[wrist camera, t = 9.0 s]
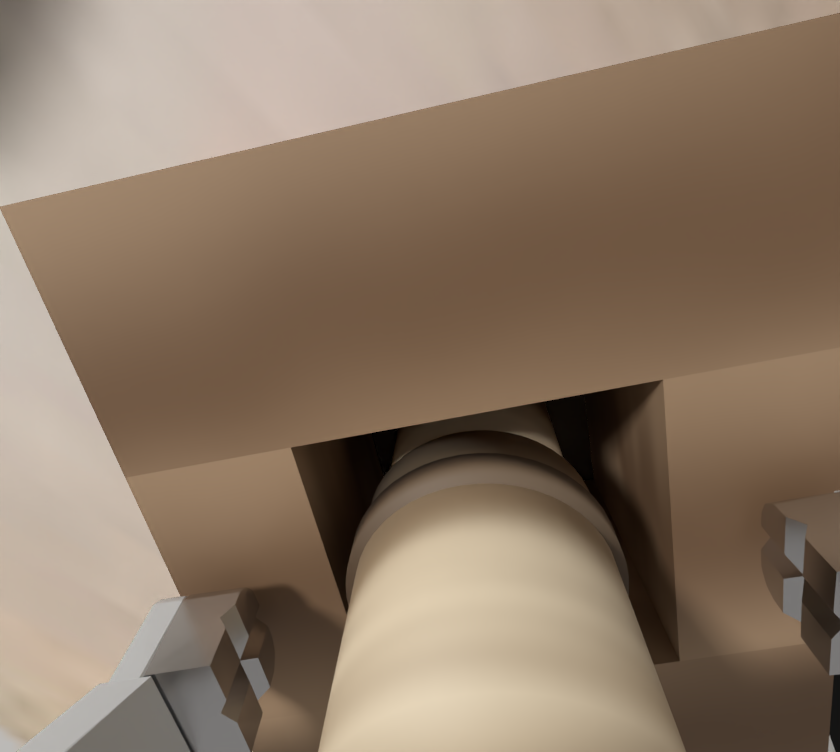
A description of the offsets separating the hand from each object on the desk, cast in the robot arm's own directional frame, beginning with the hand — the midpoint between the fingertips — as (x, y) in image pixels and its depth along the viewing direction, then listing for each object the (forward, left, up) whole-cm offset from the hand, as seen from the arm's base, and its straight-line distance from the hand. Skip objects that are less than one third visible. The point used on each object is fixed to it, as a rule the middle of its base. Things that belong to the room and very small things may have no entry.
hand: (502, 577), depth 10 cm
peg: (0, 0, -6) cm, 6 cm away
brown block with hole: (0, 0, -6) cm, 6 cm away
